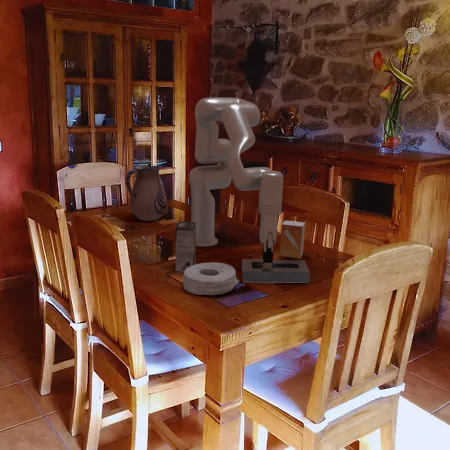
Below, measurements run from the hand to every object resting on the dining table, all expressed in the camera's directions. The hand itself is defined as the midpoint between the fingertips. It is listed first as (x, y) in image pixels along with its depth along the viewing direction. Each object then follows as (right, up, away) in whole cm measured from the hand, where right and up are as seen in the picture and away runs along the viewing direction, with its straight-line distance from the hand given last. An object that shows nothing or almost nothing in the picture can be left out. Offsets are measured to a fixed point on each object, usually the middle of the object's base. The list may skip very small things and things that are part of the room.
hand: (267, 260), depth 180 cm
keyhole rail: (+2, -6, +2) cm, 7 cm away
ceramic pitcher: (-52, +14, +71) cm, 89 cm away
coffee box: (-29, -3, +8) cm, 30 cm away
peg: (0, -5, +1) cm, 5 cm away
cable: (-19, -8, -8) cm, 23 cm away
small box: (+11, 0, +25) cm, 27 cm away
